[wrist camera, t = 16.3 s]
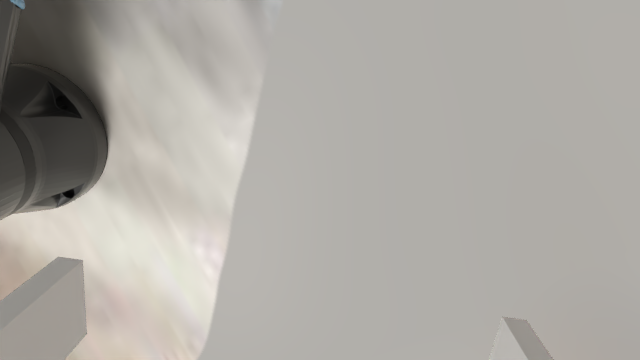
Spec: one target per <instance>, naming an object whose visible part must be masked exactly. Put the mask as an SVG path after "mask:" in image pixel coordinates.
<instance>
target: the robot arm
mask: <svg viewBox="0 0 640 360" xmlns="http://www.w3.org/2000/svg"><path fill="white" fill-rule="evenodd" d="M24 8H25V2H24V0H0V220H2V219H3V218H5V217H7V216H9V215H11V214H15V213H24V212H33V211H42V210H50V209H54V208H58V207H61V206H64V205H66V204H68V203H70V202H72V201H74V200H75V199H77V198H79V197H80V196H82V195H84V194H85V193H87V192H88V191H89V190H90V189H91V188H92V187H93V186H94V185H95V184H96V182H97V181H98V179H99V178H100V176H101V174H102V172H103V169H104V166H105V163H106V157H107V141H106V135H105V130H104V127H103V124H102V121H101V119H100V117H99V115H98V113H97V111H96V109H95V107H94V106H93V104H92V103H91V102H90V100H89V99H88V98H87V96H86V95H85V94H84V93H83V92H82V91H81V90H80V89H79V88H78V87H77V86H76V85H75V84H73V83H72V82H71V81H69V80H68V79H67V78H65V77H64V76H62V75H60V74H58V73H56V72H54V71H52V70H50V69H47V68H44V67H41V66H37V65H32V64H10V62H11V57H12V52H13V48H14V43H15V38H16V33H17V28H18V23H19V18H20V13H21V9H24ZM86 334H87V328H86V310H85V292H84V273H83V260H78V259H70V258H63V257H57V258H56V259H55V260H53V261H52V262H51V263H50V264H48V265H47V266H46V267H44V268H43V269H42V270H40V271H39V272H38V273H37V274H35V275H34V276H33V277H31V278H30V279H29V280H27V281H26V282H25V283H23V284H22V285H21V286H20V287H18V288H17V289H16V290H14V291H13V292H12V293H10V294H9V295H8V296H7V297H5V298H4V299H3V300H1V301H0V360H65V358H66V357H67V356H68V355H69V354H70V353H71V352H72V350H73V349H74V348H75V347H76V346H77V345H78V343H79V342H80V341H81V340H82V339H83V338H84V336H85V335H86ZM489 360H554V359H553V358H552V357H551V355H550V354H549V352H548V351H547V349H546V348H545V346H544V345H543V343H542V342H541V340H540V339H539V337H538V336H537V335H536V333H535V332H534V330H533V329H532V327H531V326H530V324H529V323H528V321H527V320H522V319H515V318H508V317H502V319H501V322H500V326H499V329H498V332H497V335H496V338H495V341H494V345H493V348H492V351H491V354H490V357H489Z"/></svg>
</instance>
